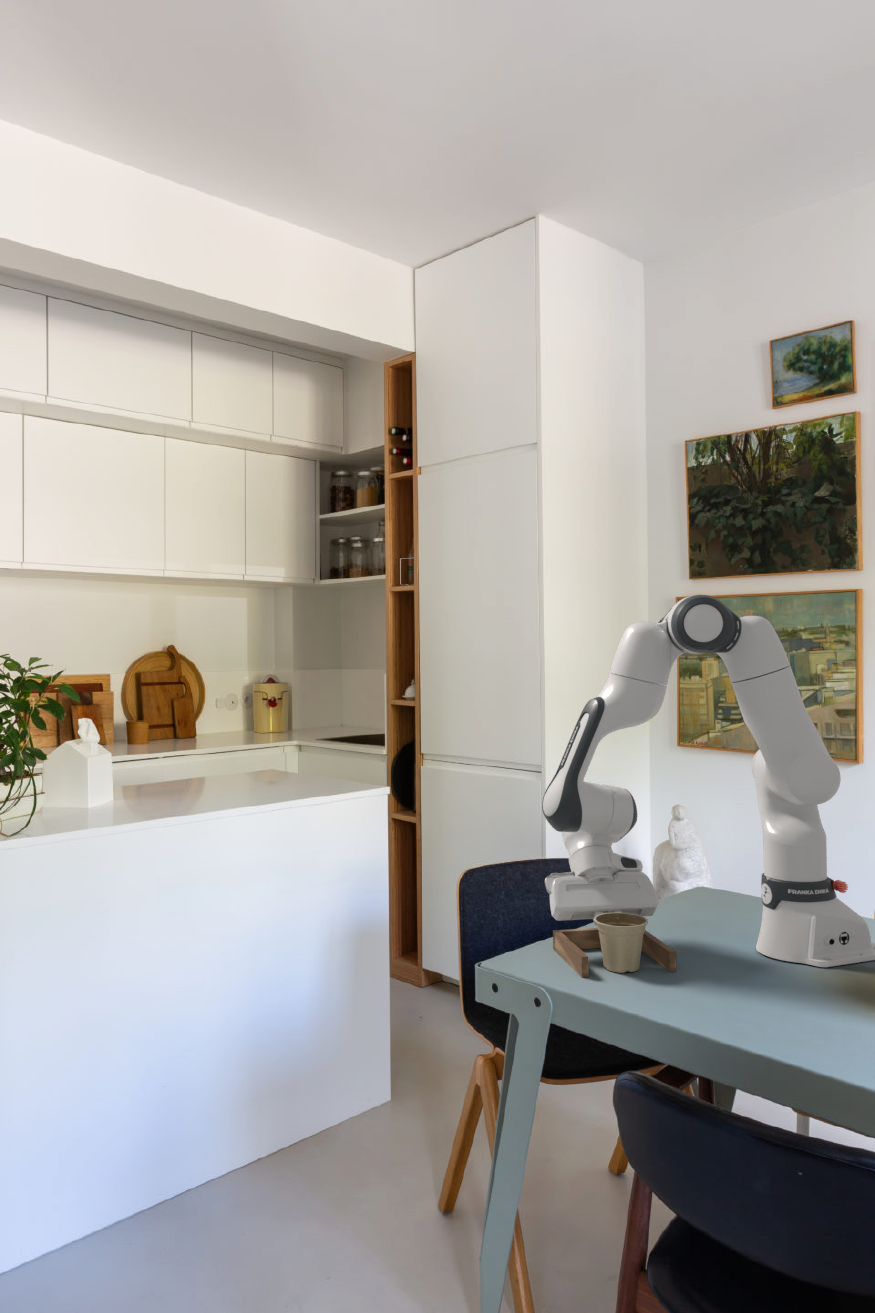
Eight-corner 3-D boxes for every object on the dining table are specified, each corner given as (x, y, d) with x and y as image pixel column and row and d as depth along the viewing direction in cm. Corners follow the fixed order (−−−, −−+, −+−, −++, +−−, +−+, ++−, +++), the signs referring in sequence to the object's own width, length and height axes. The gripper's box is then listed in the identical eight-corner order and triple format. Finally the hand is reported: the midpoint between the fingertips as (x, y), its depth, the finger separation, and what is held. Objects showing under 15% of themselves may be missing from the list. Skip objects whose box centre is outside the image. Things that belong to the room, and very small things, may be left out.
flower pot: (649, 978, 159) (648, 927, 159) (593, 975, 161) (593, 925, 161) (648, 961, 168) (647, 913, 168) (595, 958, 170) (594, 911, 170)
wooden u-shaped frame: (639, 943, 179) (638, 925, 179) (676, 971, 162) (675, 951, 162) (553, 949, 176) (553, 930, 176) (581, 977, 159) (581, 957, 159)
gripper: (545, 864, 174) (561, 931, 164) (649, 860, 178) (670, 925, 168) (539, 882, 179) (554, 948, 169) (640, 878, 182) (660, 943, 172)
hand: (613, 937), depth 168 cm, fingers closed, pressing on flower pot
